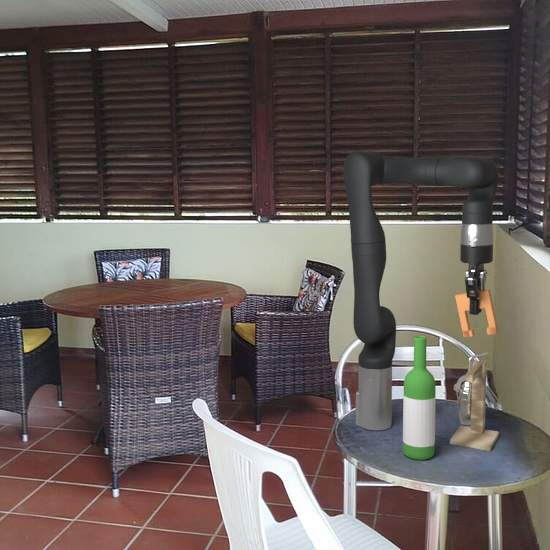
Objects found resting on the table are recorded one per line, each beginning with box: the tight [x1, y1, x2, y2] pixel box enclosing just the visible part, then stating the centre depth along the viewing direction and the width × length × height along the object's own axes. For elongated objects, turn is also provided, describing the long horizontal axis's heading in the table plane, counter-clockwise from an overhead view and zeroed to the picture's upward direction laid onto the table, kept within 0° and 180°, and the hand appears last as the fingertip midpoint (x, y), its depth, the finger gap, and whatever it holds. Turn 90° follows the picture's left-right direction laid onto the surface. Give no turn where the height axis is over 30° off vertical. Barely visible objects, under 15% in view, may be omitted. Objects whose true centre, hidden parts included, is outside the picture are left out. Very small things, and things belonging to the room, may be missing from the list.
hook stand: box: [449, 359, 500, 452], centre depth 171 cm, size 10×14×20 cm
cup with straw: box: [453, 351, 489, 427], centre depth 184 cm, size 8×9×20 cm
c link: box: [455, 289, 499, 338], centre depth 162 cm, size 8×2×10 cm, turn 61°
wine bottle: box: [402, 335, 437, 461], centre depth 163 cm, size 8×8×30 cm
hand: (475, 313), depth 162 cm, fingers closed on c link, 2 cm apart
